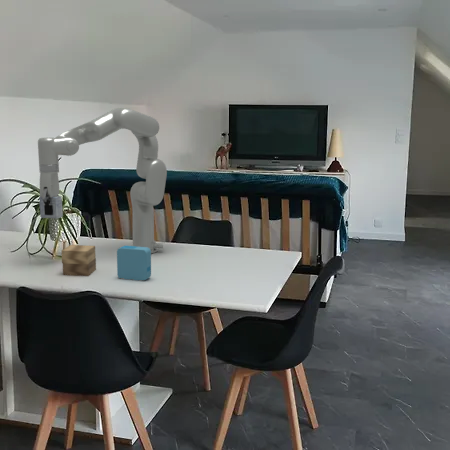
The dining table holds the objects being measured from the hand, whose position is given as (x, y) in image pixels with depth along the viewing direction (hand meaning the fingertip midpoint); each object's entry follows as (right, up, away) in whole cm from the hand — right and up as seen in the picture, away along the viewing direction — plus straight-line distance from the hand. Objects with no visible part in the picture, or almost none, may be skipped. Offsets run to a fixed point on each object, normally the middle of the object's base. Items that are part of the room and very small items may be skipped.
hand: (51, 213), depth 241 cm
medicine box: (0, -2, 0) cm, 2 cm away
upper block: (+13, -19, -9) cm, 25 cm away
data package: (+36, -25, -16) cm, 47 cm away
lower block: (+14, -24, -8) cm, 28 cm away
